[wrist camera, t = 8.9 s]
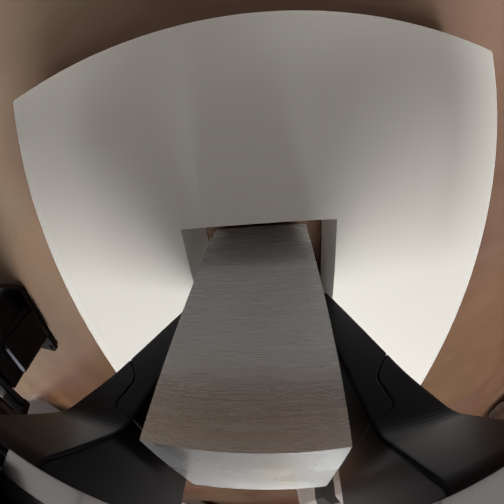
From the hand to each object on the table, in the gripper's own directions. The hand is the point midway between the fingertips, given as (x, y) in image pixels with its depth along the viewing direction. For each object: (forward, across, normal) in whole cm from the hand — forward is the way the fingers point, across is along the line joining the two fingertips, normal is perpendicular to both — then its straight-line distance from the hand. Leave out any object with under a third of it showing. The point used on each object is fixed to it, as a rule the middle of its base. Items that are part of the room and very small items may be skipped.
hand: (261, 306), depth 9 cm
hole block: (+4, 0, 0) cm, 4 cm away
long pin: (+2, 0, 0) cm, 2 cm away
